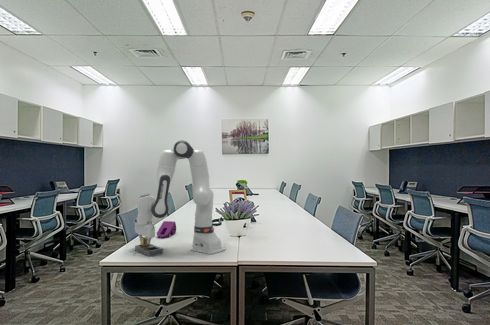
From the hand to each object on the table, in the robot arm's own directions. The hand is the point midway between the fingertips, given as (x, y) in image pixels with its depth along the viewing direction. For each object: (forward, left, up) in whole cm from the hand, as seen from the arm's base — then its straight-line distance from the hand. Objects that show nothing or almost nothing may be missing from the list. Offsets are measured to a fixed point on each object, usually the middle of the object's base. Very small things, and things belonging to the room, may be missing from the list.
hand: (144, 242), depth 193 cm
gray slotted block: (-5, 0, -5) cm, 7 cm away
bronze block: (0, 0, -5) cm, 5 cm away
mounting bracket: (+25, -29, -5) cm, 39 cm away
